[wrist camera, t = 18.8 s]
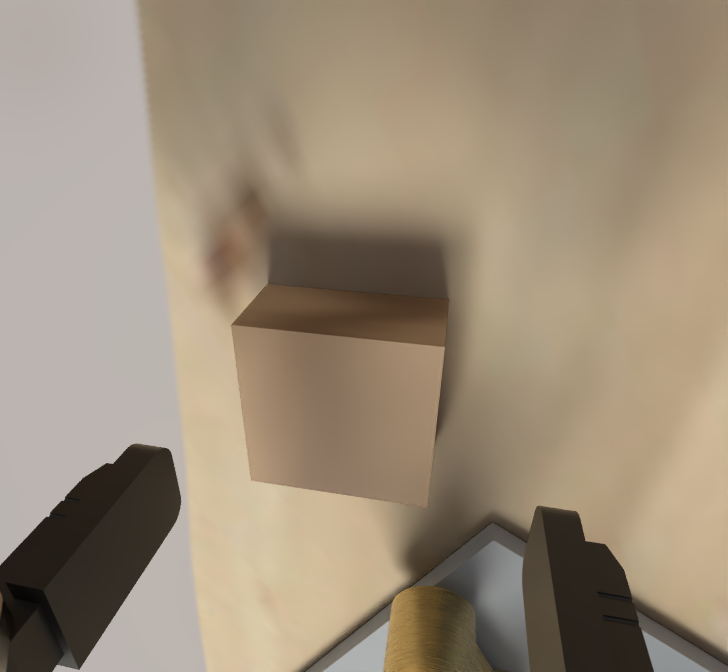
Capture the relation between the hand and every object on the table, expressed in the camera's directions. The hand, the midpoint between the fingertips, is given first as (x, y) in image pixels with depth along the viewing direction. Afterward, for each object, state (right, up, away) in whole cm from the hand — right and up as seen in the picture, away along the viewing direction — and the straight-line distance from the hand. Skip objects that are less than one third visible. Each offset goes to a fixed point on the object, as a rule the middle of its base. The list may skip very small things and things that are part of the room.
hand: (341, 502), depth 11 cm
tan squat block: (0, +3, +6) cm, 6 cm away
